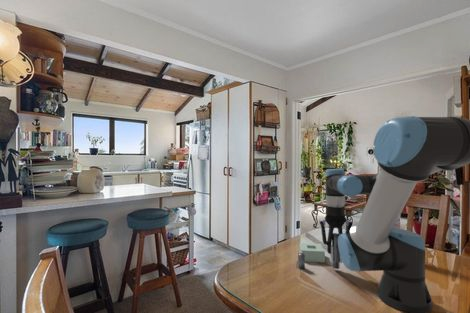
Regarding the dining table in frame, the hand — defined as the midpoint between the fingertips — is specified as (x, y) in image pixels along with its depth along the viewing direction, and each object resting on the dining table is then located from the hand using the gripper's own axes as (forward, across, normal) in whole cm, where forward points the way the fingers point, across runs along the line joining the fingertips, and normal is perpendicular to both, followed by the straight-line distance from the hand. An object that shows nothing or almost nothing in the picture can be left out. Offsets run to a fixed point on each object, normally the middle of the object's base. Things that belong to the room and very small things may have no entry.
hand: (335, 261), depth 106 cm
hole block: (+4, +8, -12) cm, 15 cm away
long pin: (+3, 0, 0) cm, 3 cm away
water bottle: (+4, -30, -18) cm, 35 cm away
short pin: (+4, +14, 0) cm, 15 cm away
